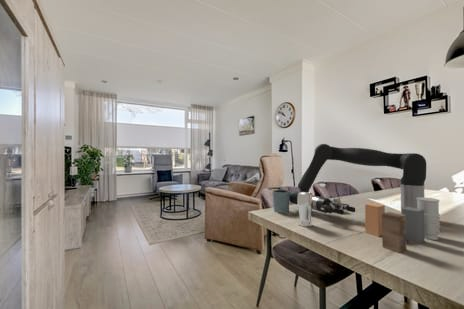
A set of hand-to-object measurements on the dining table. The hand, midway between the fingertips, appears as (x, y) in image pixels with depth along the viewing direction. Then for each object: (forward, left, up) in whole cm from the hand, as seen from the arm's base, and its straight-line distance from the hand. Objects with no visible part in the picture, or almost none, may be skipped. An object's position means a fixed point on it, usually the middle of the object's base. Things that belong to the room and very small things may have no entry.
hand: (349, 211), depth 98 cm
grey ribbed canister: (-20, +19, -7) cm, 28 cm away
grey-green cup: (+19, -31, -7) cm, 37 cm away
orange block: (-3, +11, -7) cm, 13 cm away
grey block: (-11, +20, -7) cm, 24 cm away
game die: (-11, -23, -7) cm, 27 cm away
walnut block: (+3, +24, -7) cm, 25 cm away
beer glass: (+19, -6, -7) cm, 21 cm away
